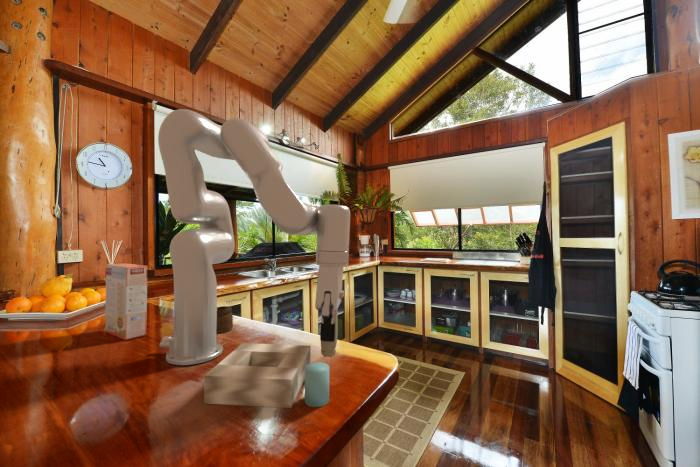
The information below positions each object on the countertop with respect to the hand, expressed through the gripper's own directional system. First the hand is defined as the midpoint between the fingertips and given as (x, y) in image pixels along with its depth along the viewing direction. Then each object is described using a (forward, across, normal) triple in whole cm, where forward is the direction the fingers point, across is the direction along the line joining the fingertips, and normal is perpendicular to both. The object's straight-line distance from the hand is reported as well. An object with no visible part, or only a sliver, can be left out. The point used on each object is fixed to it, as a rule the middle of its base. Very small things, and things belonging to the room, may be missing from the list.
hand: (328, 336), depth 69 cm
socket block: (+7, +9, -12) cm, 17 cm away
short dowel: (+7, +14, 0) cm, 16 cm away
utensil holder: (+8, -22, -37) cm, 44 cm away
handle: (+4, 0, 0) cm, 4 cm away
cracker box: (+9, -16, -64) cm, 66 cm away
